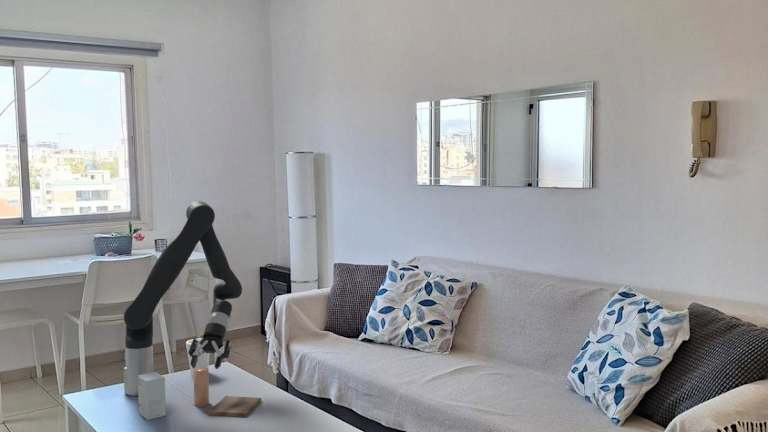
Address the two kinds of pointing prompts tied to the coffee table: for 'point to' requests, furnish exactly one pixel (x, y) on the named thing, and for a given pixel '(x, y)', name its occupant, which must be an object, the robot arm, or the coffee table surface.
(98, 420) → the coffee table surface
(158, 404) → the small box
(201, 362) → the foam cup
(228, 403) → the board
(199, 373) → the canister
